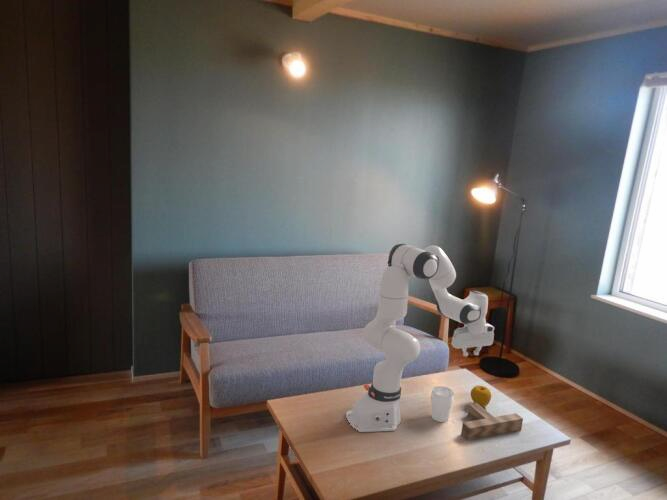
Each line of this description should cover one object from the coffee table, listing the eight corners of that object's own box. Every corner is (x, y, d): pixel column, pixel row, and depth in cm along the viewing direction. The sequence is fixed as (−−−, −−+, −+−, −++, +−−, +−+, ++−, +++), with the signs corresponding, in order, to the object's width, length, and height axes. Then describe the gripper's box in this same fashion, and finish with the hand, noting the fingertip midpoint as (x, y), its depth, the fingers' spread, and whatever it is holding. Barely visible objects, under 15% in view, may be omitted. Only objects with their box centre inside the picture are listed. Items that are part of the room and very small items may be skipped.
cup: (424, 413, 191) (427, 387, 189) (442, 410, 195) (445, 384, 193) (437, 425, 183) (440, 398, 181) (455, 422, 187) (458, 395, 185)
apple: (465, 403, 202) (467, 385, 200) (477, 398, 207) (479, 380, 205) (481, 412, 195) (484, 394, 193) (493, 407, 200) (496, 388, 198)
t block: (467, 440, 175) (469, 428, 174) (445, 418, 189) (446, 407, 188) (521, 429, 184) (523, 418, 183) (496, 409, 198) (497, 399, 197)
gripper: (459, 330, 197) (455, 360, 200) (497, 327, 204) (493, 356, 207) (450, 325, 203) (447, 354, 205) (488, 322, 210) (484, 350, 213)
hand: (470, 355), depth 206 cm, fingers open, 4 cm apart
